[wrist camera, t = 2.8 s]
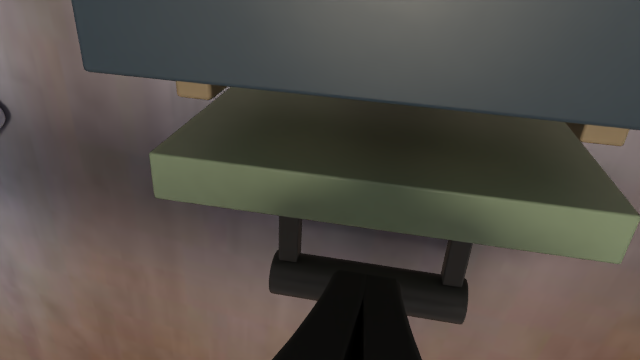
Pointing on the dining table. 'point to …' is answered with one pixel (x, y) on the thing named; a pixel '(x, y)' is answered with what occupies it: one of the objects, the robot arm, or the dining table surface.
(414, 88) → the cabinet
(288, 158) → the drawer
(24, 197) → the dining table surface
